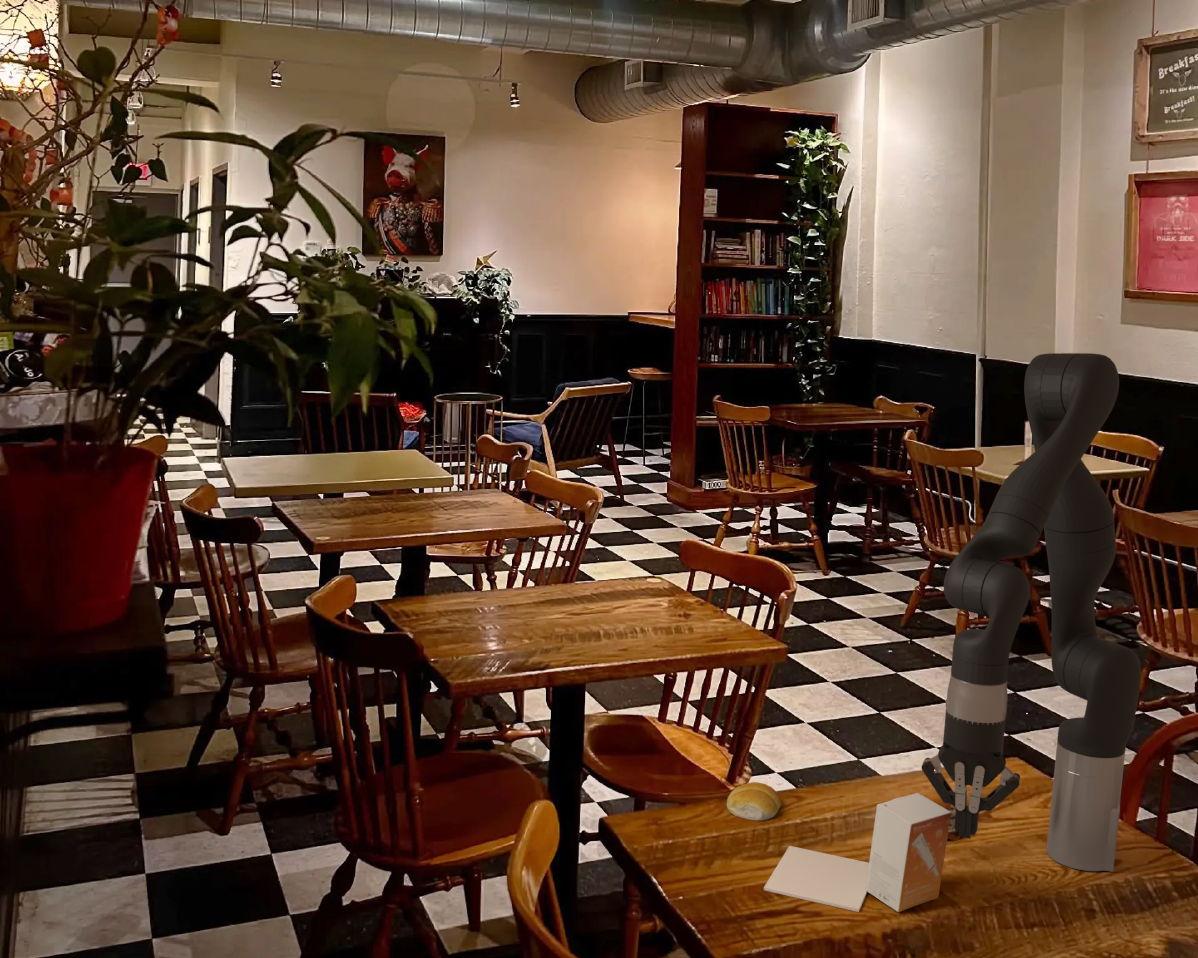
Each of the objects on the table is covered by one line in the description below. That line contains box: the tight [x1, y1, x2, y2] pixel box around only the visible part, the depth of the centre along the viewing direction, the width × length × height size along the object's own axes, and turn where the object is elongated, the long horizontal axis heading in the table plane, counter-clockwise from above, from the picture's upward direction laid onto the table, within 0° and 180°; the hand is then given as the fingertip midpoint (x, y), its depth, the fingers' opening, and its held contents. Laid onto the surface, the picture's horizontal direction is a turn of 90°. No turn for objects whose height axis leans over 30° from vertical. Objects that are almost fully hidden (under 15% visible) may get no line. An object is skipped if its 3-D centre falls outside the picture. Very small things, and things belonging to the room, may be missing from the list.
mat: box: [763, 845, 869, 913], centre depth 167 cm, size 13×14×1 cm
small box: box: [865, 792, 951, 913], centre depth 162 cm, size 8×6×13 cm
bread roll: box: [726, 781, 782, 822], centre depth 189 cm, size 8×9×4 cm
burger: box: [925, 789, 964, 842], centre depth 185 cm, size 12×12×8 cm
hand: (965, 835), depth 158 cm, fingers closed
